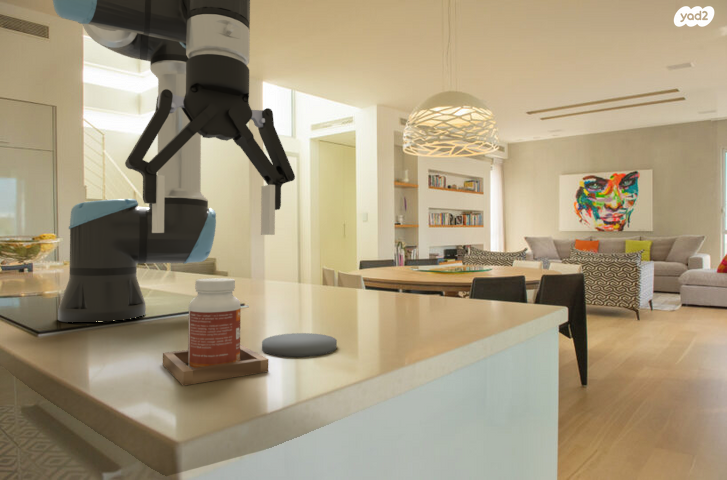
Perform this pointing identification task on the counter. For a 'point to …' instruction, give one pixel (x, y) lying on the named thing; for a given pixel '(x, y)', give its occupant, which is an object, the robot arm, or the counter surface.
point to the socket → (213, 367)
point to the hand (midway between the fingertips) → (216, 234)
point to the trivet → (299, 345)
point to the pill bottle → (214, 324)
